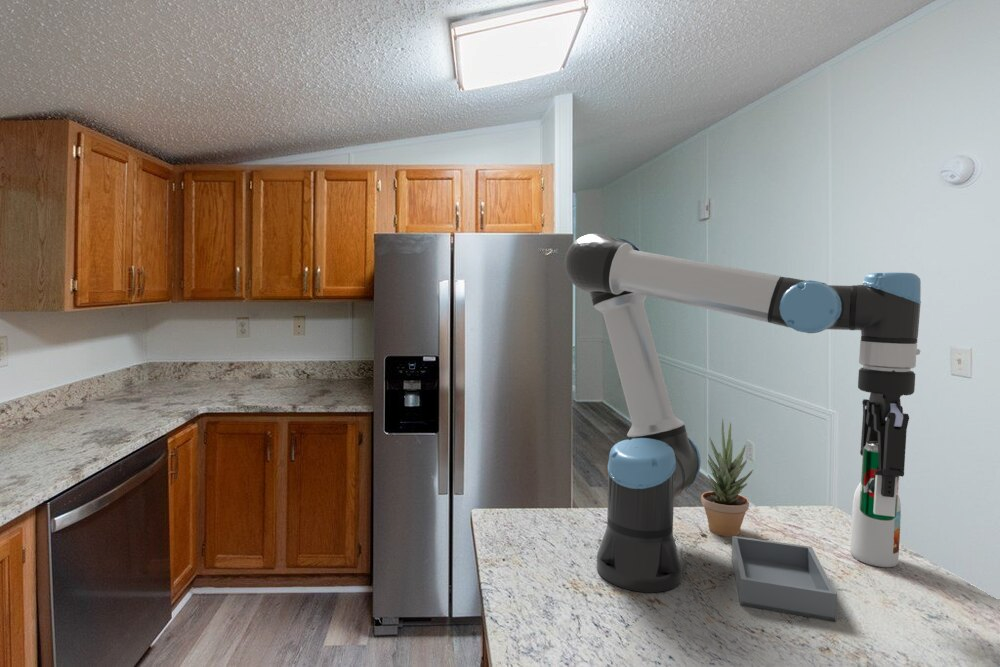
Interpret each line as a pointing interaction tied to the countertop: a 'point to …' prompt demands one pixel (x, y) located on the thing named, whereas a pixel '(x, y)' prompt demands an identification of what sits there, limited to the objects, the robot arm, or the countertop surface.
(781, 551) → the bin
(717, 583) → the countertop surface
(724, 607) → the countertop surface
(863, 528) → the milk bottle
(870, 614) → the countertop surface
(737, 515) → the potted plant
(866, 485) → the soda can
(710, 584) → the countertop surface
